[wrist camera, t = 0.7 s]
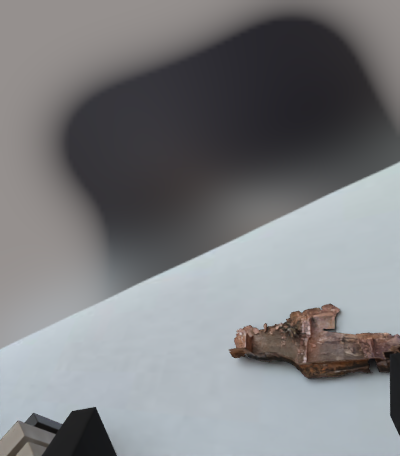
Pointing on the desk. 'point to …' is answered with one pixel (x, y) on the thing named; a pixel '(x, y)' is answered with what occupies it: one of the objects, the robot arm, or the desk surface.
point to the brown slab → (29, 437)
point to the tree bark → (316, 345)
